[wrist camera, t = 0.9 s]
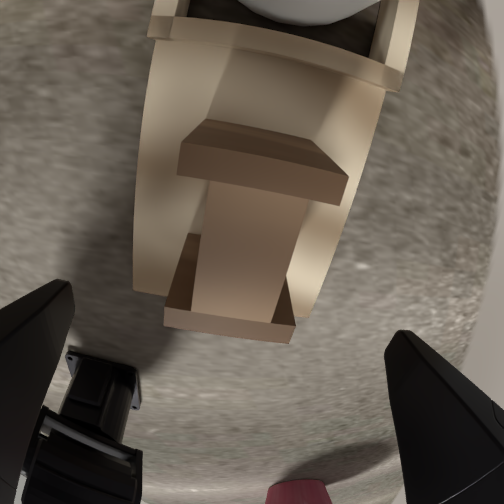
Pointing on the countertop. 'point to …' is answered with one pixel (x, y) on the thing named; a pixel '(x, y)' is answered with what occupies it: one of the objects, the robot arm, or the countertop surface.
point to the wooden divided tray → (252, 165)
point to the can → (307, 10)
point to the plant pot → (298, 493)
